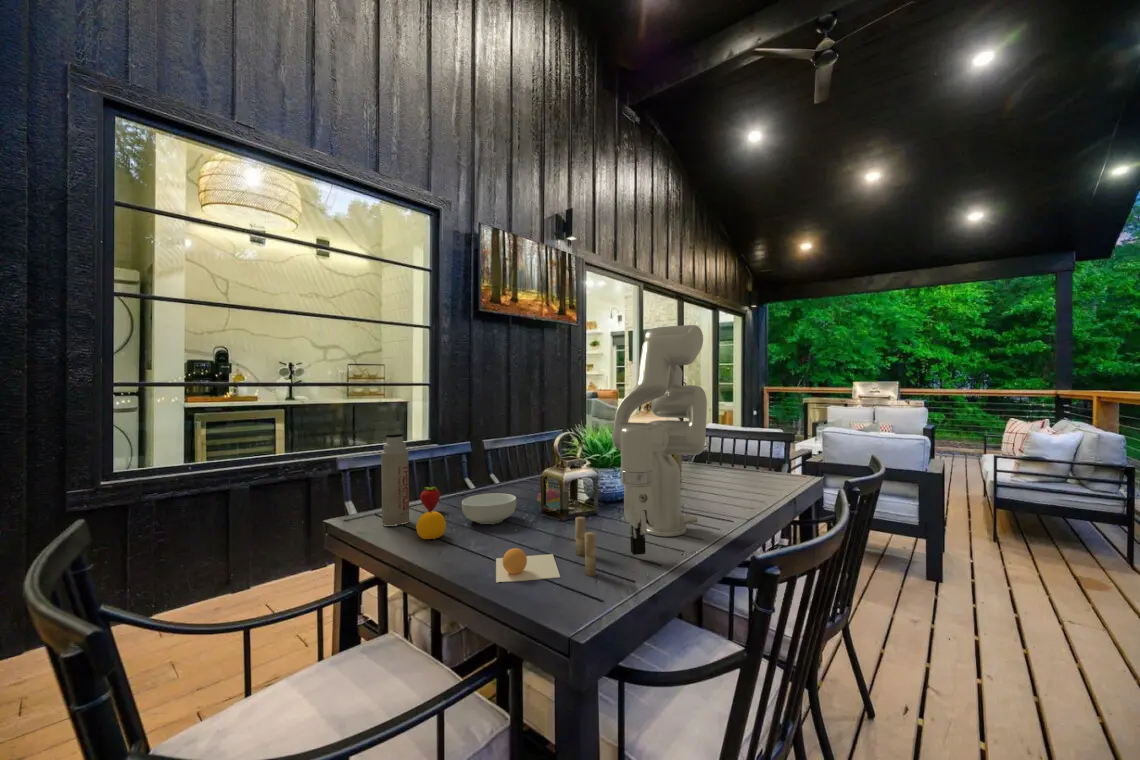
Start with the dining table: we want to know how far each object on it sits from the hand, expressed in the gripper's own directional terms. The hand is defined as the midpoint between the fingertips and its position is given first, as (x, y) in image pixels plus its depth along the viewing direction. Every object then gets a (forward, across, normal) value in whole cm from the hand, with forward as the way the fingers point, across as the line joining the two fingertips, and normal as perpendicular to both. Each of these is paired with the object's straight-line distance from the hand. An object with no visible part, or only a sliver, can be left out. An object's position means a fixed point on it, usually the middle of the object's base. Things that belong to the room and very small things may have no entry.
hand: (638, 553), depth 114 cm
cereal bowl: (+2, +40, +36) cm, 54 cm away
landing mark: (+2, 0, +27) cm, 27 cm away
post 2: (+2, -6, +13) cm, 14 cm away
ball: (-1, -2, +30) cm, 30 cm away
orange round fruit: (+2, +27, +52) cm, 59 cm away
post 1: (+2, +6, +13) cm, 14 cm away
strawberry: (+2, +55, +56) cm, 79 cm away
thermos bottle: (+2, +44, +65) cm, 79 cm away
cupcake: (+2, +48, +16) cm, 51 cm away
